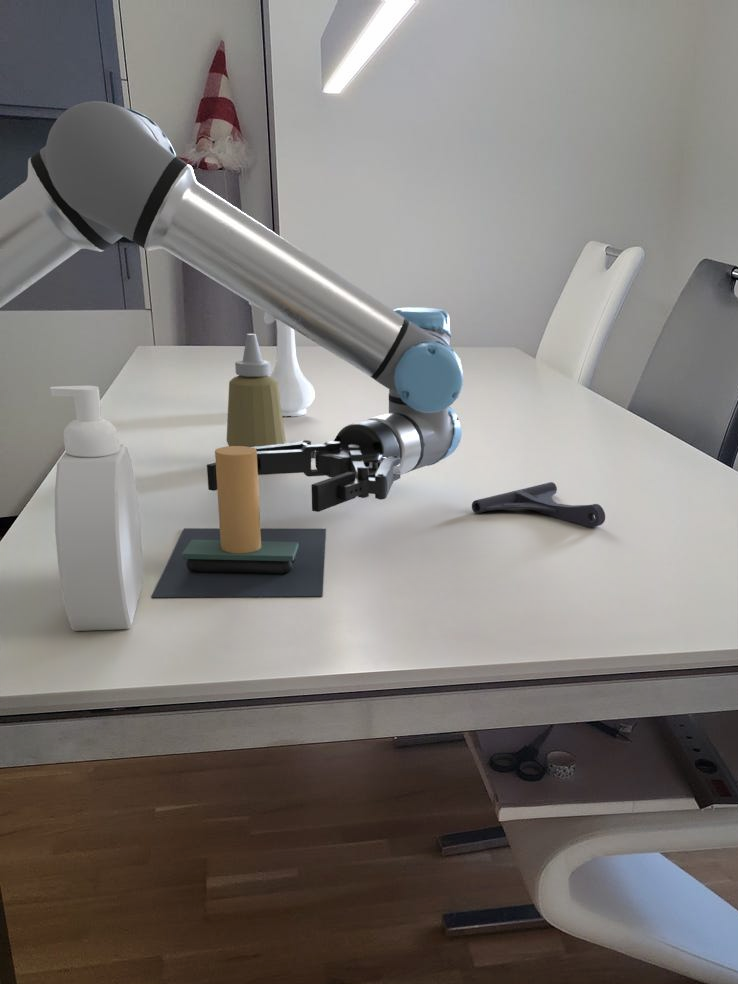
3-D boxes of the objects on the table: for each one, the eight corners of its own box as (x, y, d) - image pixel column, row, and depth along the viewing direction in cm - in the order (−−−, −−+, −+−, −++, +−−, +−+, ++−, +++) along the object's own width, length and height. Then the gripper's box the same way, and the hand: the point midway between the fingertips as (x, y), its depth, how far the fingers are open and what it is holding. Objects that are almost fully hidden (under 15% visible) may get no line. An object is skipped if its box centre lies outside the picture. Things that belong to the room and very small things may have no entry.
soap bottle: (89, 578, 102) (65, 372, 94) (145, 577, 103) (126, 372, 95) (62, 642, 87) (32, 405, 79) (128, 640, 88) (104, 405, 80)
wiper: (183, 574, 104) (173, 454, 99) (192, 559, 108) (184, 443, 103) (293, 576, 104) (289, 457, 99) (298, 561, 108) (295, 446, 104)
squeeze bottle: (258, 456, 151) (253, 329, 144) (298, 466, 147) (294, 335, 140) (215, 466, 145) (207, 333, 138) (255, 476, 140) (249, 339, 133)
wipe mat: (151, 598, 98) (151, 597, 97) (183, 529, 118) (183, 528, 118) (322, 596, 100) (322, 595, 100) (325, 529, 120) (325, 528, 120)
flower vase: (253, 425, 171) (246, 265, 161) (252, 404, 188) (245, 258, 178) (332, 424, 174) (330, 267, 164) (324, 404, 190) (321, 260, 180)
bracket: (562, 540, 119) (564, 517, 118) (471, 511, 129) (472, 490, 127) (636, 519, 129) (639, 497, 128) (547, 494, 138) (548, 473, 137)
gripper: (465, 497, 120) (362, 544, 102) (292, 466, 130) (172, 503, 113) (467, 433, 117) (361, 469, 99) (290, 406, 127) (167, 435, 110)
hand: (260, 487), depth 106 cm, fingers open, 13 cm apart
